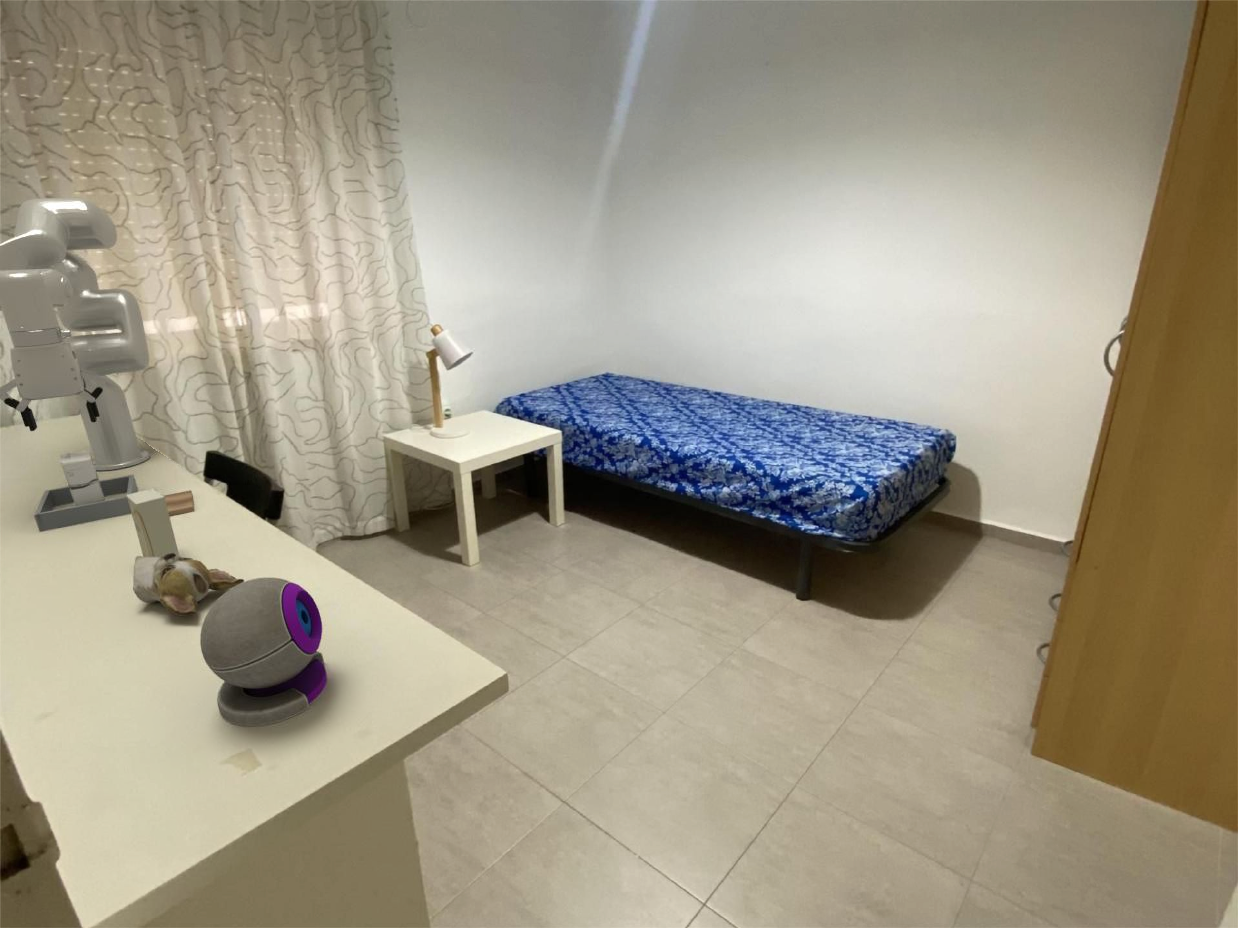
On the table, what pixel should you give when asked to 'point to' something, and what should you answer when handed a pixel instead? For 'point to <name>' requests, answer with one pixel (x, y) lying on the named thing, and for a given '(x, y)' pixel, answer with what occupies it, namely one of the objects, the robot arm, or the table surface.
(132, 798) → the table surface
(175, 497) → the pad
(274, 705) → the webcam
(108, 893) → the table surface
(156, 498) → the skincare box
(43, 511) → the bin
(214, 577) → the ceramic sculpture
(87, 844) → the table surface
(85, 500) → the ink box
